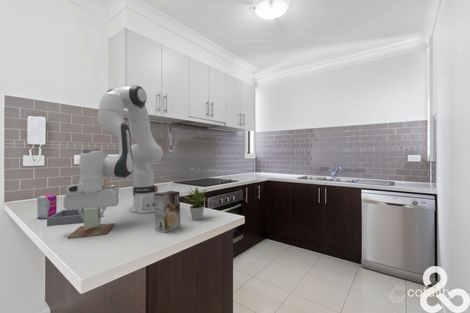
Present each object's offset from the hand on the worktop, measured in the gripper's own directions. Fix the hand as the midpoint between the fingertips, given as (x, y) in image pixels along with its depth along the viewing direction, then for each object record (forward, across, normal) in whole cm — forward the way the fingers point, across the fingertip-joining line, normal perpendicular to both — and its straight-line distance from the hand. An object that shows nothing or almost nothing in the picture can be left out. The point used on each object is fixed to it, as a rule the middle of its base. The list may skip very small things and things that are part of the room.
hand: (92, 217), depth 97 cm
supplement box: (+6, +30, -32) cm, 44 cm away
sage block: (+3, 0, 0) cm, 3 cm away
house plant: (+6, -46, -4) cm, 47 cm away
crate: (+6, +15, -23) cm, 28 cm away
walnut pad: (+6, 0, 0) cm, 6 cm away
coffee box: (+6, -31, +8) cm, 33 cm away
